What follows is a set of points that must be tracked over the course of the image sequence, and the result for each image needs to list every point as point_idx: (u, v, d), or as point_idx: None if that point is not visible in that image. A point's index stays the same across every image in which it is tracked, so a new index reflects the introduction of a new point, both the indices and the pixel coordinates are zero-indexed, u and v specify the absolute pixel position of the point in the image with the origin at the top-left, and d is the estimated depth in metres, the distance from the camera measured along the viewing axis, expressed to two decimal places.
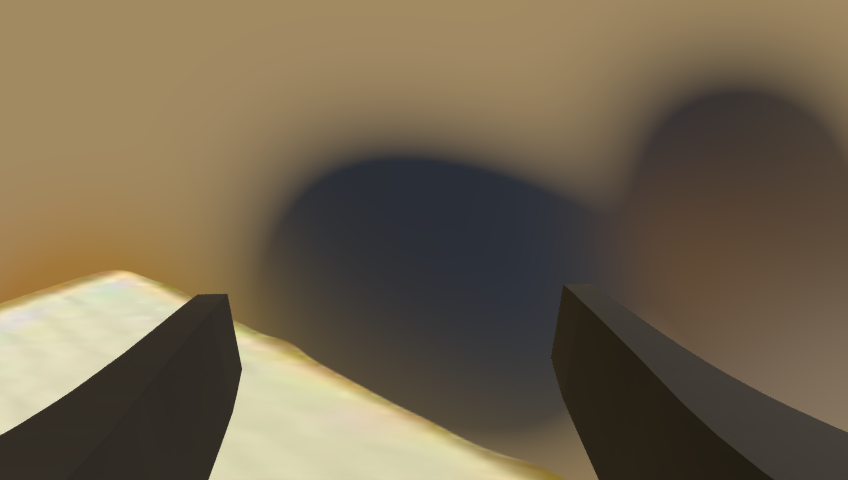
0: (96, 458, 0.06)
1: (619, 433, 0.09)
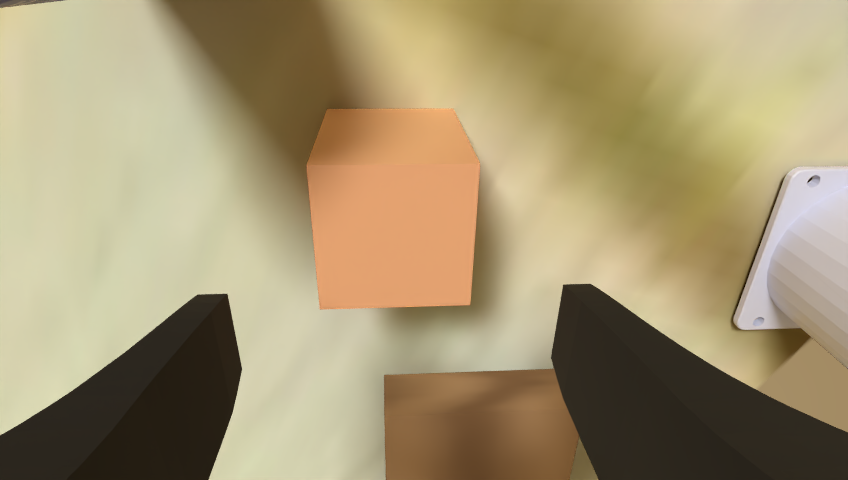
0: (96, 458, 0.06)
1: (619, 433, 0.09)
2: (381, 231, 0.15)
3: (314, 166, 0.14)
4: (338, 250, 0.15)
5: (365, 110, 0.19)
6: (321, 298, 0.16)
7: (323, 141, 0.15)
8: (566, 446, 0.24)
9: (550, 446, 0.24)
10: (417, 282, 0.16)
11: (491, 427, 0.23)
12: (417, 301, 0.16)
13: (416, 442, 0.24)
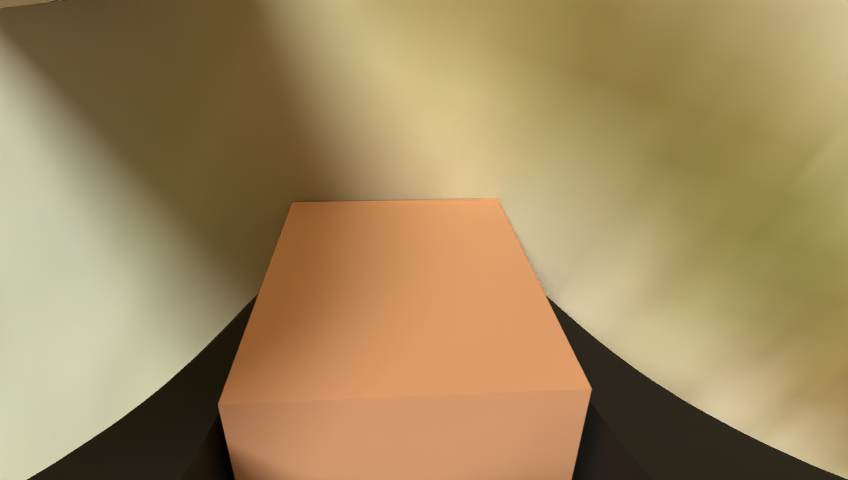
0: (202, 453, 0.06)
1: None
2: None
3: (235, 406, 0.06)
4: None
5: (355, 206, 0.11)
6: None
7: (270, 305, 0.08)
8: None
9: None
10: None
11: None
12: None
13: None
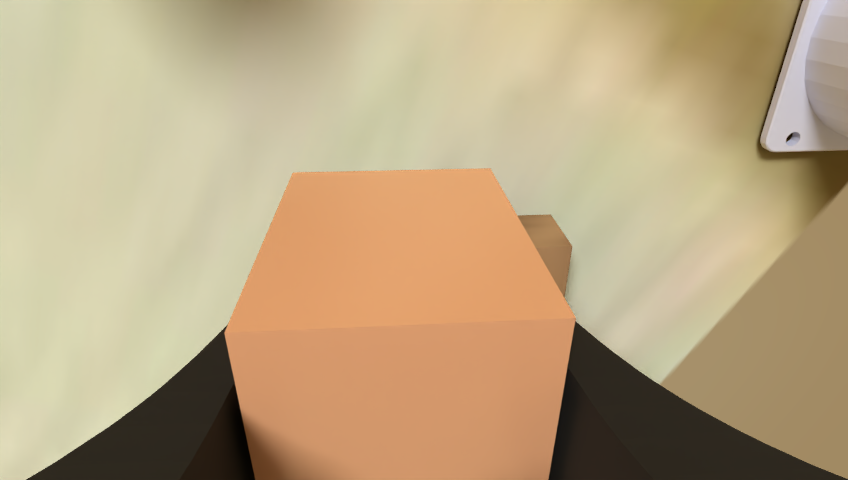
0: (201, 453, 0.06)
1: None
2: (379, 436, 0.08)
3: (241, 335, 0.07)
4: (300, 467, 0.08)
5: (353, 175, 0.12)
6: None
7: (272, 255, 0.08)
8: None
9: None
10: None
11: None
12: None
13: None
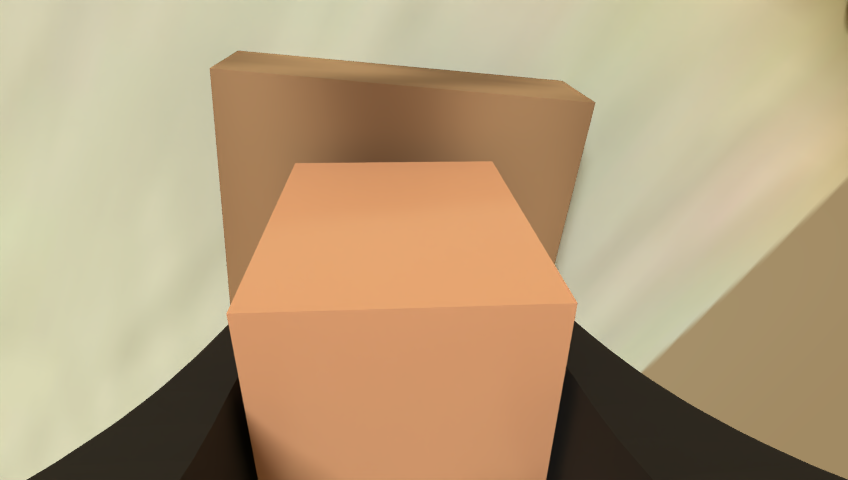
0: (202, 453, 0.06)
1: None
2: (379, 420, 0.08)
3: (243, 315, 0.07)
4: (300, 452, 0.08)
5: (355, 166, 0.12)
6: None
7: (275, 240, 0.08)
8: (553, 193, 0.14)
9: (525, 189, 0.14)
10: None
11: (420, 128, 0.13)
12: None
13: (278, 148, 0.13)
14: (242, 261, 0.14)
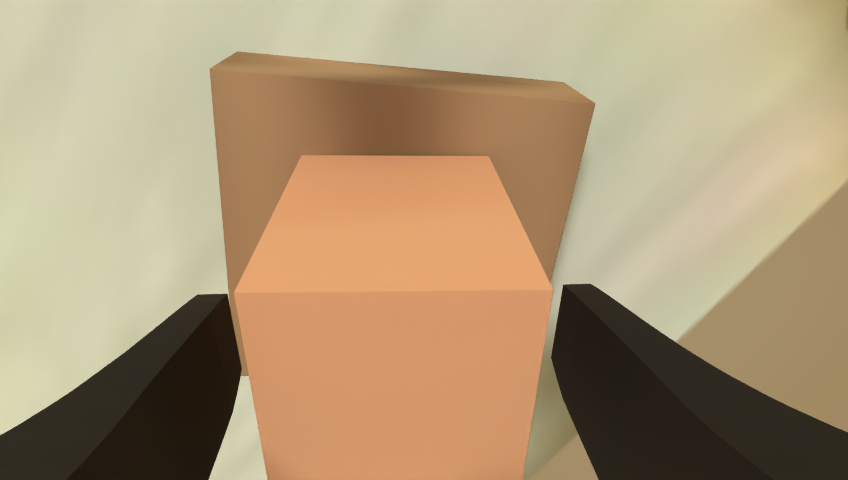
0: (96, 458, 0.06)
1: (619, 433, 0.09)
2: (372, 394, 0.08)
3: (248, 295, 0.07)
4: (299, 420, 0.09)
5: (358, 159, 0.12)
6: None
7: (279, 228, 0.09)
8: (553, 194, 0.14)
9: (525, 190, 0.14)
10: (433, 465, 0.09)
11: (420, 129, 0.13)
12: None
13: (277, 148, 0.13)
14: (242, 262, 0.14)
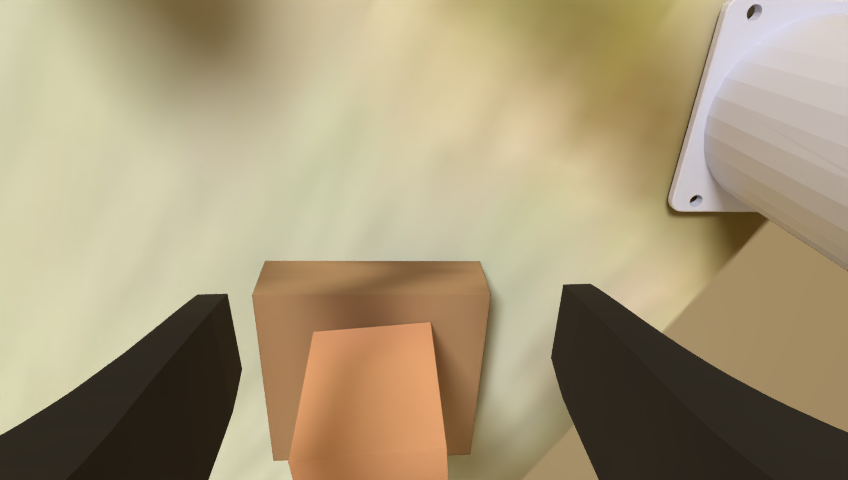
0: (96, 458, 0.06)
1: (619, 433, 0.09)
2: None
3: (295, 462, 0.15)
4: None
5: (348, 333, 0.20)
6: None
7: (306, 408, 0.17)
8: (472, 343, 0.21)
9: (453, 342, 0.21)
10: None
11: (382, 315, 0.20)
12: None
13: (294, 332, 0.20)
14: (275, 394, 0.22)
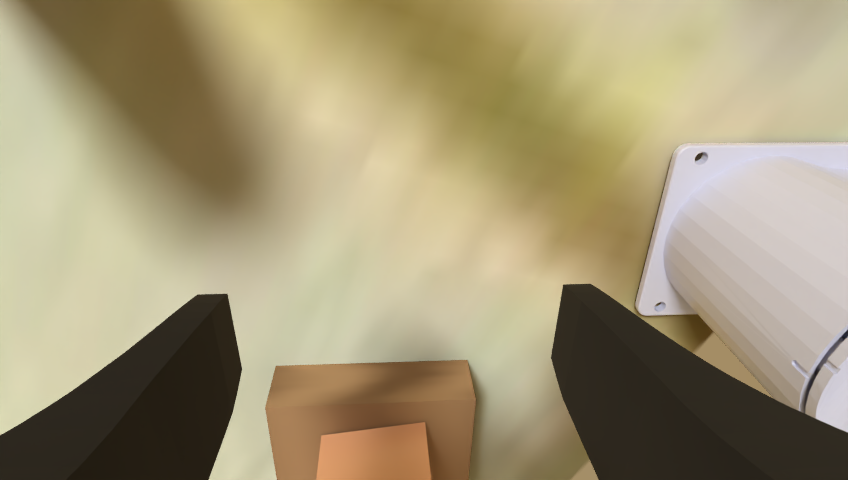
0: (96, 458, 0.06)
1: (619, 433, 0.09)
2: None
3: None
4: None
5: (352, 436, 0.23)
6: None
7: None
8: (461, 439, 0.24)
9: (444, 438, 0.24)
10: None
11: (380, 419, 0.23)
12: None
13: (303, 435, 0.23)
14: None
